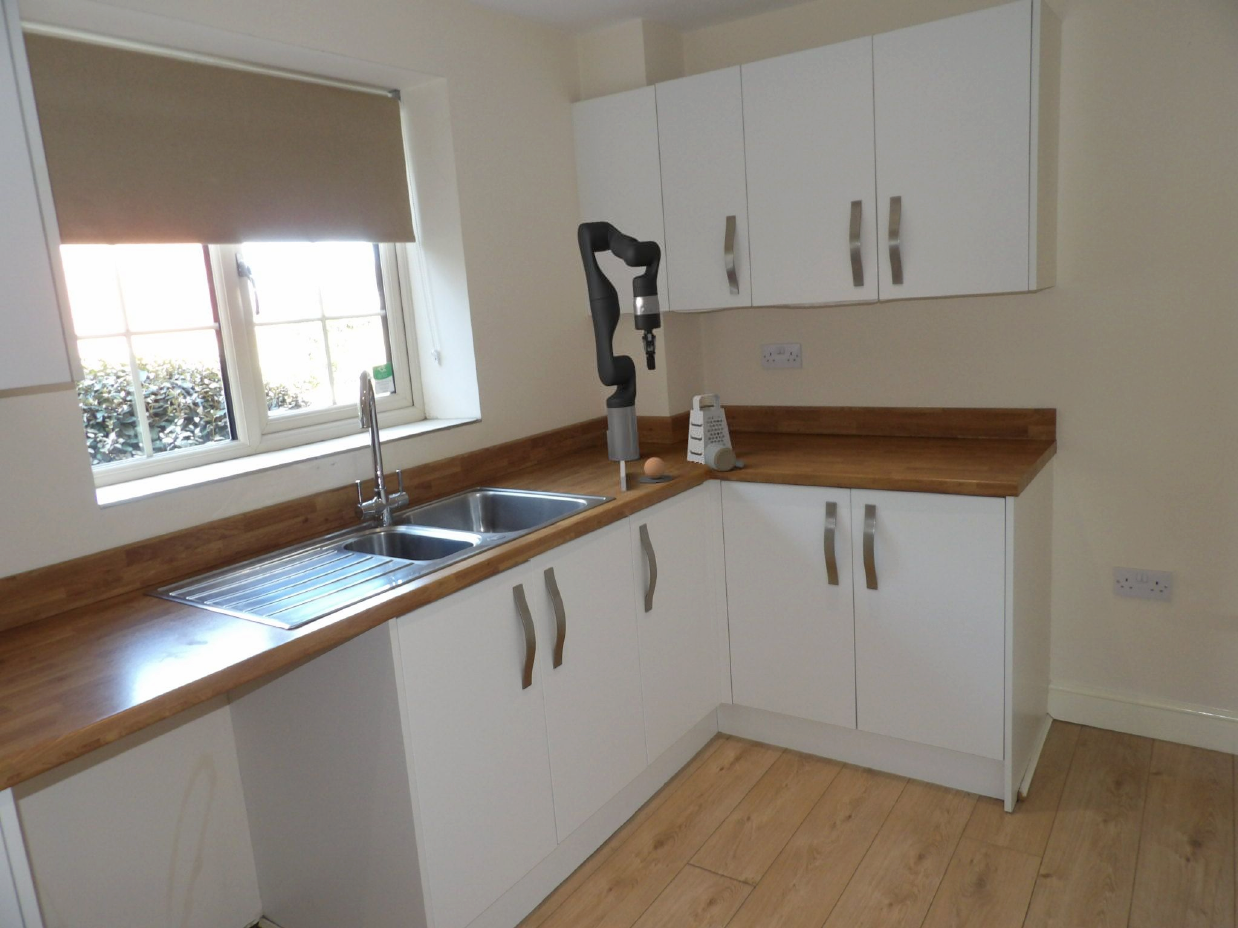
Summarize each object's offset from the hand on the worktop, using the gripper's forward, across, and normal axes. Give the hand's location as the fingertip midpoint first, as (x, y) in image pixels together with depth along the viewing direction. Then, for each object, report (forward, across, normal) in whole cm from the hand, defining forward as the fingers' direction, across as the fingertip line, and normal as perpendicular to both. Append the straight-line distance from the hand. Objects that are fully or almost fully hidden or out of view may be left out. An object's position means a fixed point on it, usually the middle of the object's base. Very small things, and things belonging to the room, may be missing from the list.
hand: (651, 368), depth 261 cm
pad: (+30, -13, +2) cm, 33 cm away
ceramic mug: (+30, -6, -19) cm, 36 cm away
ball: (+27, -13, +2) cm, 30 cm away
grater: (+30, +11, -16) cm, 36 cm away
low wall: (+30, -13, +11) cm, 35 cm away
